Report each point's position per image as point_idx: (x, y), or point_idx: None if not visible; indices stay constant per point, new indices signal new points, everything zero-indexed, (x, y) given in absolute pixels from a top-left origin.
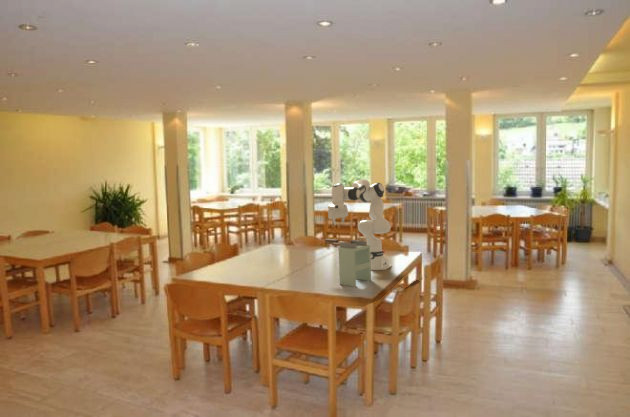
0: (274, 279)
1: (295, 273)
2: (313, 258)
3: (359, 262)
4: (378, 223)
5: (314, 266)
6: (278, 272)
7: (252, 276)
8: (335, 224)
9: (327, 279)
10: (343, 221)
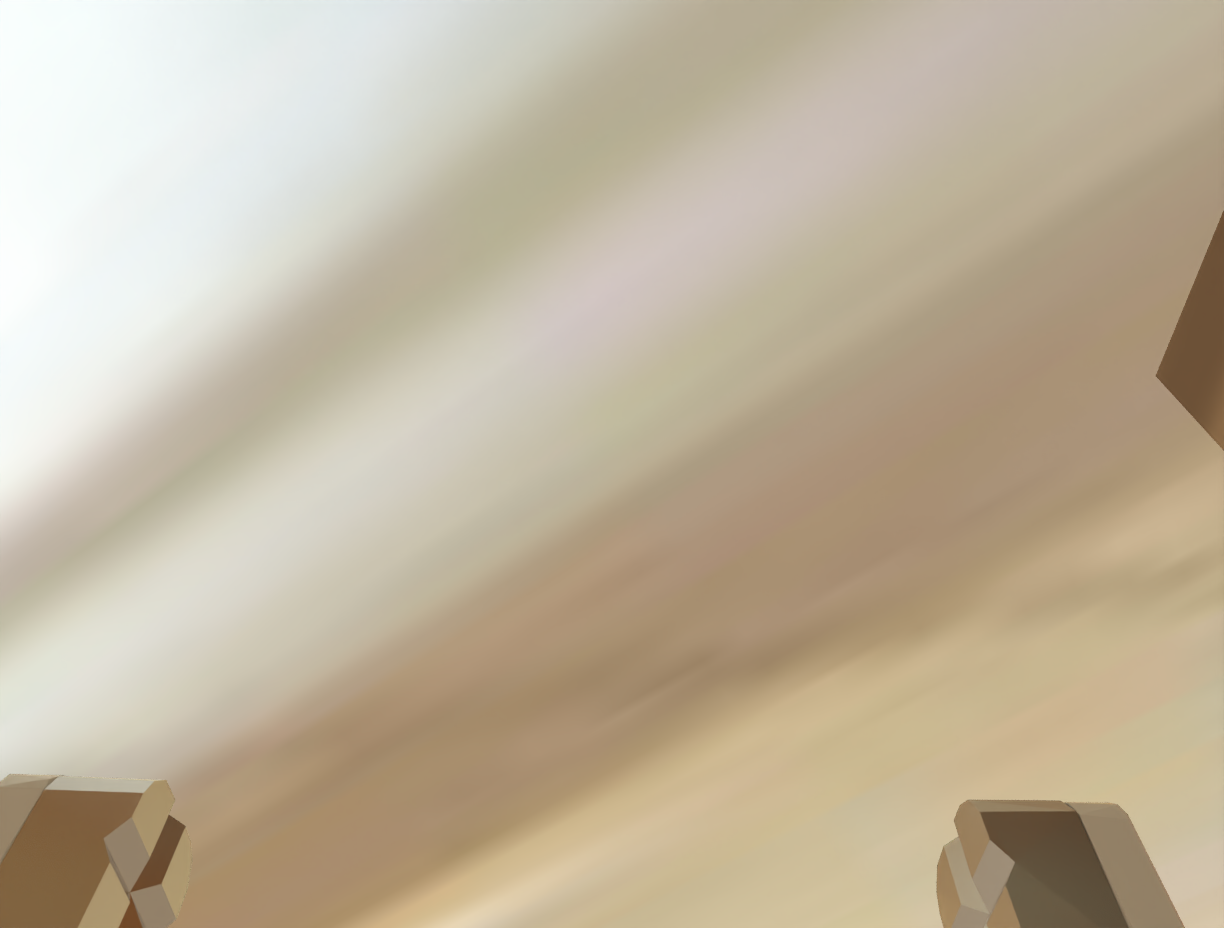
0: (1153, 624)
1: (802, 613)
2: None
3: None
4: None
5: (388, 644)
6: (831, 757)
7: None
8: (1070, 803)
9: (973, 48)
10: (33, 870)
